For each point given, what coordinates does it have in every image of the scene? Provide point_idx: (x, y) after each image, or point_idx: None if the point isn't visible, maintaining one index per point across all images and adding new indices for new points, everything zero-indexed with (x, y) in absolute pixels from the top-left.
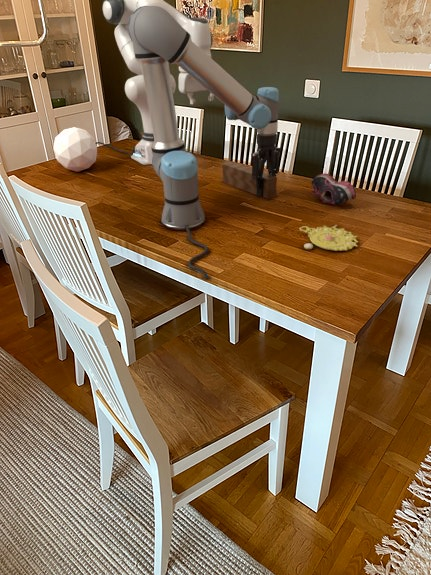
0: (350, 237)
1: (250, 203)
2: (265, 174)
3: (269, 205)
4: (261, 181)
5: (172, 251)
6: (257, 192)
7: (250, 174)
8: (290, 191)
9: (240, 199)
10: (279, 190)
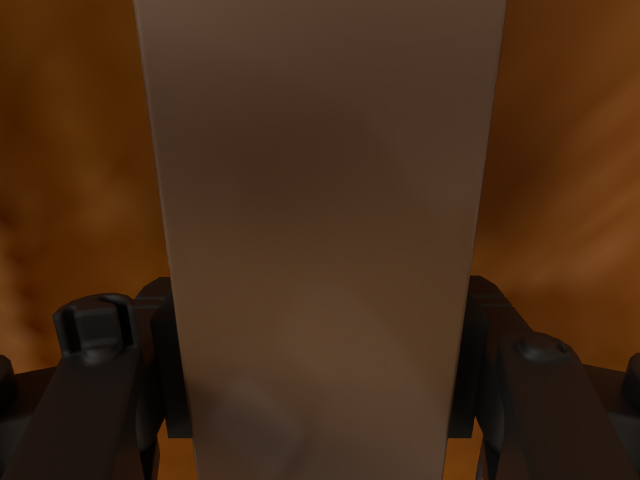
0: None
1: (46, 304)
2: (392, 359)
3: (175, 440)
4: (175, 408)
5: None
6: None
7: (146, 26)
8: (609, 341)
9: (3, 144)
10: (565, 245)
